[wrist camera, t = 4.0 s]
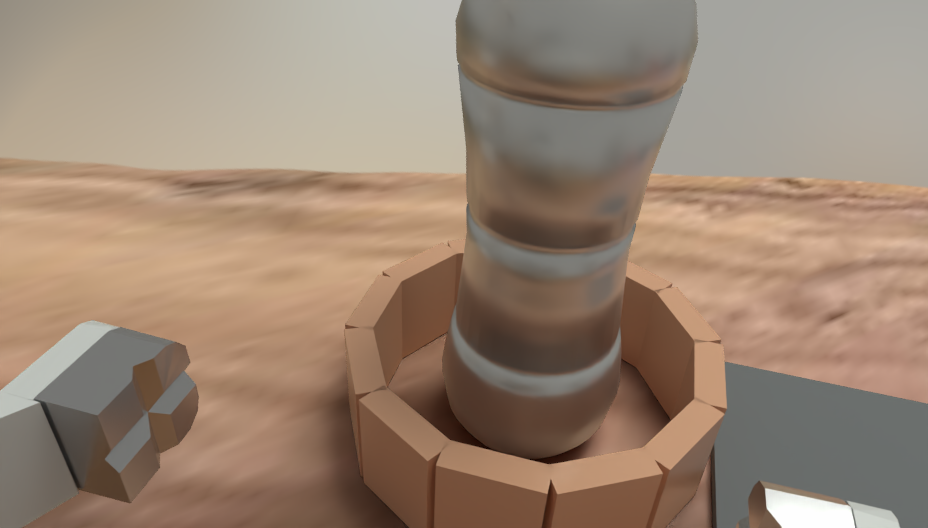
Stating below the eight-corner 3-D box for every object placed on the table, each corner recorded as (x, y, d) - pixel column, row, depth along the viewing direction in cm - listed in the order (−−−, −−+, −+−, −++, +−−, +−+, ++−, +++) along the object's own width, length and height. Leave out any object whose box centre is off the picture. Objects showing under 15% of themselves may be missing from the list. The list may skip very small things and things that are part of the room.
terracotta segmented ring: (291, 508, 23) (277, 424, 20) (418, 286, 33) (418, 214, 31) (697, 622, 20) (733, 541, 18) (696, 343, 31) (719, 269, 28)
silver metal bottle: (613, 371, 29) (745, -208, 17) (600, 505, 23) (780, -211, 12) (463, 342, 30) (496, -221, 19) (418, 463, 24) (424, -229, 13)
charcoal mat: (714, 581, 21) (718, 572, 21) (708, 367, 29) (711, 359, 29) (1083, 680, 19) (1093, 671, 19) (969, 422, 27) (975, 413, 27)
